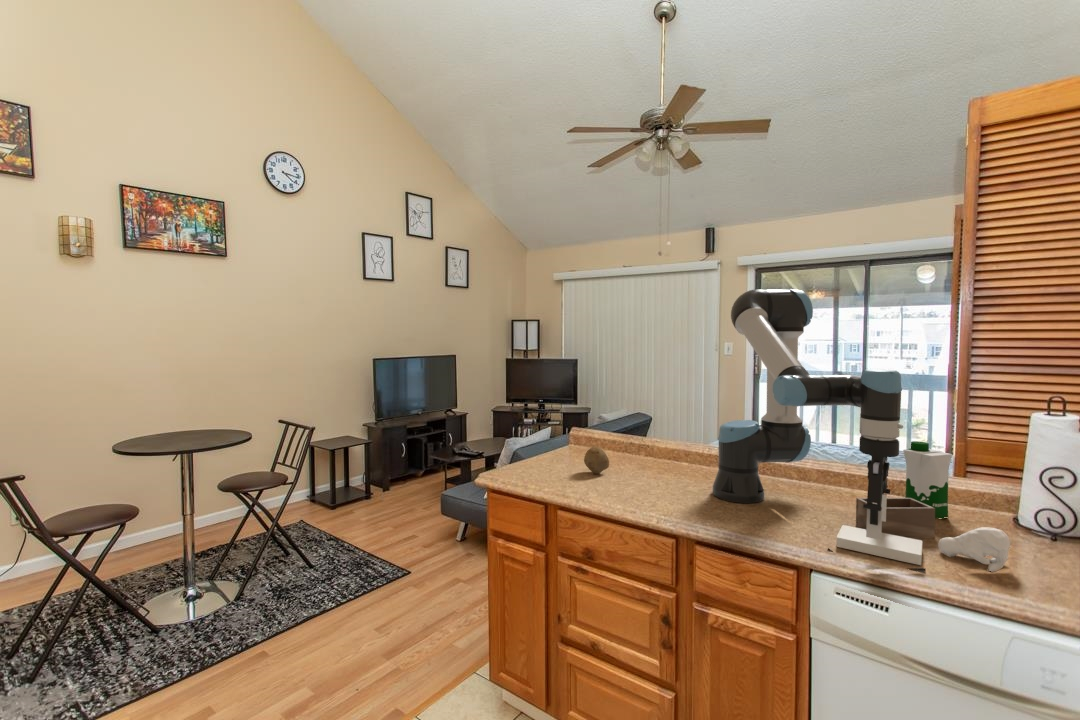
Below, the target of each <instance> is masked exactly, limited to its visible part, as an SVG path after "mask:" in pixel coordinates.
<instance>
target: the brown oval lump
mask: <svg viewBox="0 0 1080 720" xmlns="http://www.w3.org/2000/svg"><path fill="white" fill-rule="evenodd" d="M583 462H584V465H585V466H586V467H587V468H588V470H590V472H591V473H593V474H595V475H597V474H600V473H602V472H603V471H605V470H607V469H608V468H609V467H610V460H609V457H608V455H607V453H606V451H604V449H602V448H601V447H599V446H592V447H590V448H588V450H587V451H586V452H585V454H584V458H583Z"/></svg>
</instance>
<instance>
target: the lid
mask: <svg viewBox="0 0 1080 720" xmlns="http://www.w3.org/2000/svg"><path fill="white" fill-rule="evenodd" d="M839 529H840V530H839V531H838V534H837V535H836V540H835V541H836V546H835V547H838V548H840V549H845V550H850V551H855V552H859V553H863V554H869V555H872V556H873V555H874V556H877V557H880V558H881V557H882V558H886V559H890V560H894V561H900V562H904V563H909V564H912V565H918V566H922V557H923V540H921V539H917V538H906V537H901V536H896V535H891V534H886V533H881V540H879V539H874V538H869V537H866V529H861V528H859V527H857V526H856V527H855V526H850V525H846V524H845V525H844V524H842V526H841V528H839Z"/></svg>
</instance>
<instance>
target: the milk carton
mask: <svg viewBox="0 0 1080 720" xmlns="http://www.w3.org/2000/svg"><path fill="white" fill-rule="evenodd" d="M929 446H930V444H929V443H928V442H926V441H919V440H918V441H916V440H914V441H913V440H912V441H910V447H909V448H906V449H903V455H904V460H905V495H904V498H912V499H915V500H917V501H919V502H922V503H924V504H926V505H929V506H931V507H933V508H935V519H938V518H944V517H948V518H949V474H950V473H949V470H950V465H951V460H952V456H953V453H947V452H945V451H941V450H937V449H930V447H929Z"/></svg>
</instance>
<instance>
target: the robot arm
mask: <svg viewBox="0 0 1080 720" xmlns="http://www.w3.org/2000/svg"><path fill="white" fill-rule="evenodd" d="M813 314H814V308H813V303H812V301H811V298H810V297H809V296H808V294H807V293H806V292H805V291H803V290H802V289H801V290H800V289H793V288H779V289H777V288H774V289H758V288H757V289H755V288H754V289H750V290H747V291H746V292H744V293H742V294H740V295H739V296H738V297H737V298H736V299H735V301H734V302H733V304H732V307H731V311H730V319H731V323H732V325H733V327H734V328H735V330H736V331H737V333H738V334H740V335H743V336H744V337H745V339H746V340H747V341H748V343H749V344H750V346H751V347H752V349H753V350H754V352H755V353H756V355H757V356H758V357H759V360H761V361H762V364H763V365H764V366H765V368H766V413H765V414H763V416H762V417H761V420H760V424H759V422H758V421H756V420H751V419H746V420H745V419H743V420H742V419H739V420H731V421H727V422H724V423H723V424H721V425H720V426H719V429H718V437H717V439H718V470H717V472H716V473H717V474H716V475H715V479H714V482H713V484H712V495H713V496H714V497H715V498H718V499H720V500H723V501H727V502H730V503H731V502H733V503H739V504H755V503H760V502H762V501H764V500H765V490H764V486H763V483H762V480H761V477H760V474H759V464H761V463H786V464H788V463H795V462H800V461H802V460H804V459H805V458H806V457H807V456H808V455H809V452H810V449H811V445H812V444H811V443H812V441H811V440H812V438H811V434H810V431H809V428H807V426H805V425H803V419H802V418H800V416H798V407H810V406H811V407H813V406H851V407H856V408H860V415H859V416H860V417H859V434H860V435H861V436H860V437H859V446H858V447H859V451H860V453H861V454H863V455H868V456H871V459H868V461H867V481H868V483H867V497H866V498H867V504H866V505H865V504H863V508H866V509H867V527H866V537H869V538H874V539H879V540H881V530H882V521H884V522H886V503H887V498H888V494H889V495H890V494H891V489H889V487H888V486H889V485H888V477H889V470H890V462H889V461H888V458H895V457H898V456H899V455H900V440H899V437H900V430H901V429H903V428H904V425H903V423H900V422H901V421H900V420H901V407H902V405H901V404H902V392H903V387H902V376H901V373H900V371H897V370H894V369H883V368H882V369H881V368H880V369H879V368H875V369H873V368H872V369H871V368H870V369H868V368H867V369H864V370H862V372H861V375H855V374H850V373H835V374H834V373H833V374H816V375H815V374H810V373H809V372H808V371H807V369H806V368H805V367H804V365H803V364H802V363H801V362H800V361H799V357H798V355H799V351H798V350H799V338H800V337H801V336H802V334H804V331H805V329H804V328H805V327H807V326H809V324H810V323H811V320H812V319H813V316H814V315H813ZM871 502H872V503H873V504H872V503H871Z"/></svg>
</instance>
